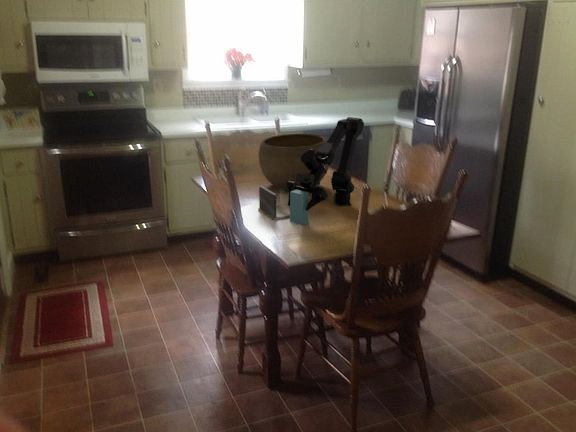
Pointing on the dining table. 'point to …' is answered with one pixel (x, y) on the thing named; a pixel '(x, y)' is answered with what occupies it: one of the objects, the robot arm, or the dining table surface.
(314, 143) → the brown bowl
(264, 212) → the grey l-shaped bracket
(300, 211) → the tall teal pillar
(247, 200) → the dining table surface
